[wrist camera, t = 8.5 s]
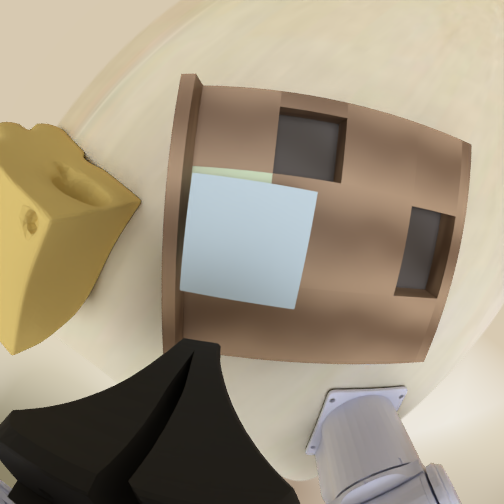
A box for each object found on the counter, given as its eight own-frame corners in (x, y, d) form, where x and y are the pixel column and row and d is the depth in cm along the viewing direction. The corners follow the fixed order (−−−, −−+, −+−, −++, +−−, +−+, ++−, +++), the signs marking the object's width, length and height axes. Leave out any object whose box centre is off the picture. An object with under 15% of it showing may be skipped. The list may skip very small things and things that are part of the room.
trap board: (413, 349, 20) (434, 375, 16) (179, 333, 20) (163, 362, 16) (456, 146, 16) (488, 142, 12) (197, 95, 16) (181, 74, 12)
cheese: (62, 126, 17) (-32, 110, 7) (153, 202, 18) (59, 224, 8) (17, 228, 19) (-64, 254, 9) (91, 306, 20) (15, 370, 11)
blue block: (286, 273, 17) (294, 309, 12) (203, 260, 17) (179, 290, 12) (301, 189, 16) (317, 192, 11) (214, 176, 16) (192, 172, 11)
